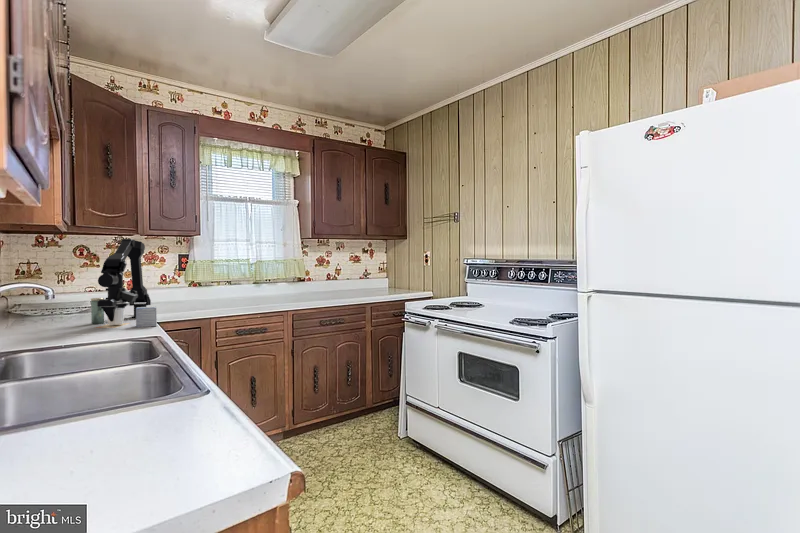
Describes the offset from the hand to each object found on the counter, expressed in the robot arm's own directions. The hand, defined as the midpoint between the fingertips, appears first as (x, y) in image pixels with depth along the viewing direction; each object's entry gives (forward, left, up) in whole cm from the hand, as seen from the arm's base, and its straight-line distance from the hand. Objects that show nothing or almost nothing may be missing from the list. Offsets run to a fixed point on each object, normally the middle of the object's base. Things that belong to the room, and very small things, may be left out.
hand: (115, 320), depth 192 cm
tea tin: (-7, -11, -3) cm, 13 cm away
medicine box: (+3, +14, -3) cm, 15 cm away
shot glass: (0, 0, -2) cm, 2 cm away
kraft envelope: (0, -1, -3) cm, 3 cm away
